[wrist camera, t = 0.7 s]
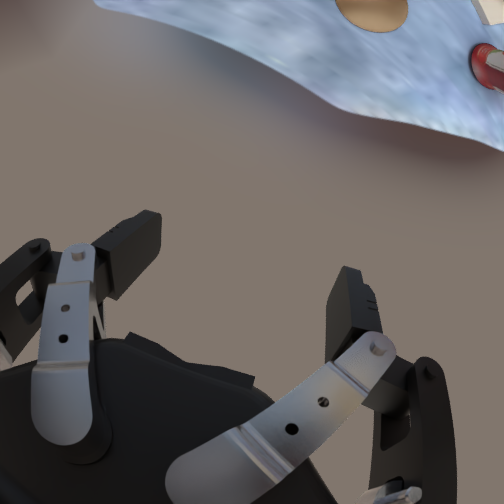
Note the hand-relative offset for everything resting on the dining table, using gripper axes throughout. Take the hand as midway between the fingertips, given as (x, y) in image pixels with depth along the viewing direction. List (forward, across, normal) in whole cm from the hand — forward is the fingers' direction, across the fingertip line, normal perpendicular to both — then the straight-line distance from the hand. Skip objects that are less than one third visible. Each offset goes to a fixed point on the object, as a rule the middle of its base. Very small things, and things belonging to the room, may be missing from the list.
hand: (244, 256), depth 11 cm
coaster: (+23, -5, -24) cm, 33 cm away
